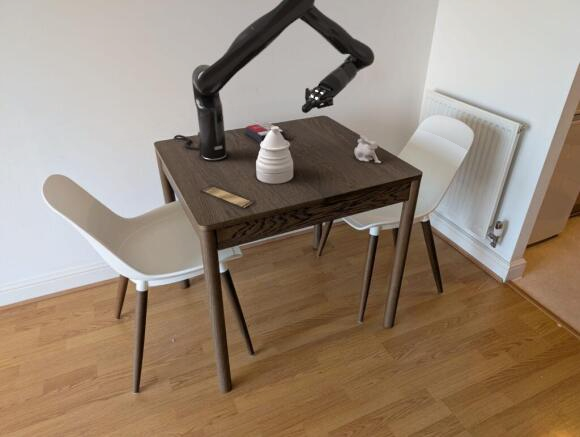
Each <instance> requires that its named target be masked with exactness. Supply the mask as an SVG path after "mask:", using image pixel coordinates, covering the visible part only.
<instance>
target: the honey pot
mask: <svg viewBox="0 0 580 437" xmlns="http://www.w3.org/2000/svg"><path fill="white" fill-rule="evenodd" d="M279 129H280V127H279V126H277V125H274V126H273V127H271V130H270V131H269V132H268V134H267V135H266V137H265V139H264V141H262V142H261V143H259V147H260V149H259V151H258V155H257V159H256V161H255V168H256V169H255V170H256V178H257V179H258V180H259V181H260V182H262V183H266V184H274V185H275V184H277V185H278V184H283V183H287V182H290V181H291V180H292V179H293V178H294V160H293V158H292V154H291V151H290V150H289V148H290V146H291V144H290V142H289V141H288V140H286V139H285V140H284V138H283V136H282V135H281V133H280V132H279V131H278V130H279Z"/></svg>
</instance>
